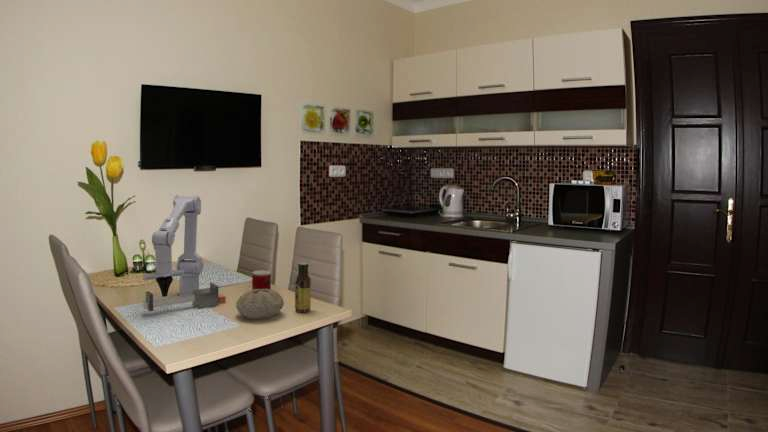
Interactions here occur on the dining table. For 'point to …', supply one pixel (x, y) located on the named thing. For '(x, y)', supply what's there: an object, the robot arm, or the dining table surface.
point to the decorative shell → (259, 303)
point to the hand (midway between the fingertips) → (164, 295)
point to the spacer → (222, 299)
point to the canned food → (261, 280)
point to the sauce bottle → (303, 289)
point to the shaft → (166, 300)
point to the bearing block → (207, 297)
